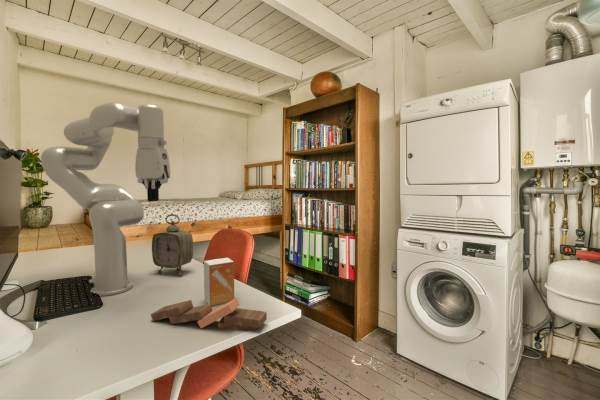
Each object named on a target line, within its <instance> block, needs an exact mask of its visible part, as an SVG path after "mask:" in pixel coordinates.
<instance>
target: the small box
mask: <svg viewBox="0 0 600 400" xmlns="http://www.w3.org/2000/svg"><path fill="white" fill-rule="evenodd" d="M203 290H204V292H203V293H204V294H203V295H204V296H203V297H204V301H205V302H206V304H211V307H213V306H217V305H221V304H226V303H228V302H230V301H232V300H234V299H235V261H233V260H232V259H231V258H229V257H224V258H223V257H222V258H215V259H207V260H203Z"/></svg>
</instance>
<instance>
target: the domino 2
mask: <svg viewBox="0 0 600 400" xmlns="http://www.w3.org/2000/svg"><path fill="white" fill-rule="evenodd" d="M213 310H214V309H213V306H211V304H208V303H206V304H203V305H197V306H193V307H192V308H190V309H189V310H187V311H186V312H184V313H183V314H181V315H177V316H173V317H169V318H168V320H169V323H170V325H176V324H182V323H188V322H193V321H197V320H198V321H199V320H200V319H203V318H204V317H205V316H206V315H208V314H209V313H210V312H212V311H213Z"/></svg>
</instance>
